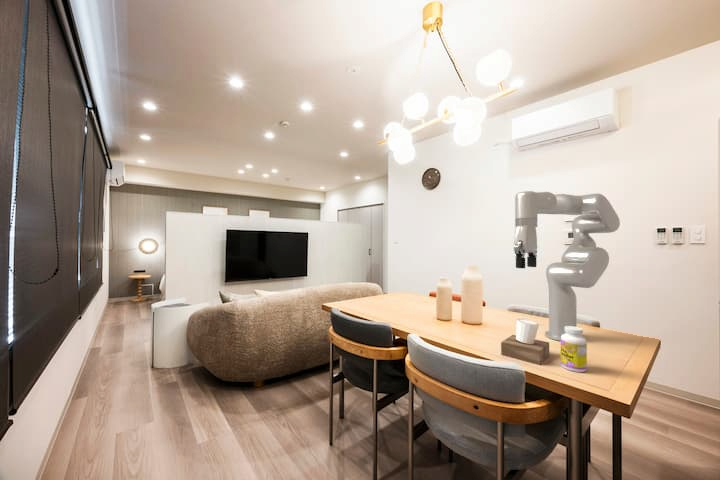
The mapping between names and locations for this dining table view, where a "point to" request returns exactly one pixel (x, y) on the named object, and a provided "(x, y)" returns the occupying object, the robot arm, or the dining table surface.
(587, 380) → the dining table surface
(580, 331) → the supplement bottle
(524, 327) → the white cup
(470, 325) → the dining table surface
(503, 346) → the walnut block
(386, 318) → the dining table surface
